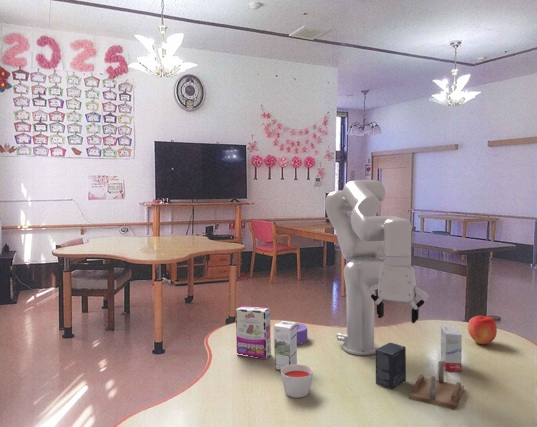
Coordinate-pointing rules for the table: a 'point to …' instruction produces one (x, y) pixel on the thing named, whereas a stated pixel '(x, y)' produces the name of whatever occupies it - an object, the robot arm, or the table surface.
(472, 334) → the apple
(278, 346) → the syrup box
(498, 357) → the table surface
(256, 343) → the candy bar box
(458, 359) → the ink box
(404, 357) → the box
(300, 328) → the tape roll
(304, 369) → the candle
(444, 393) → the cradle
